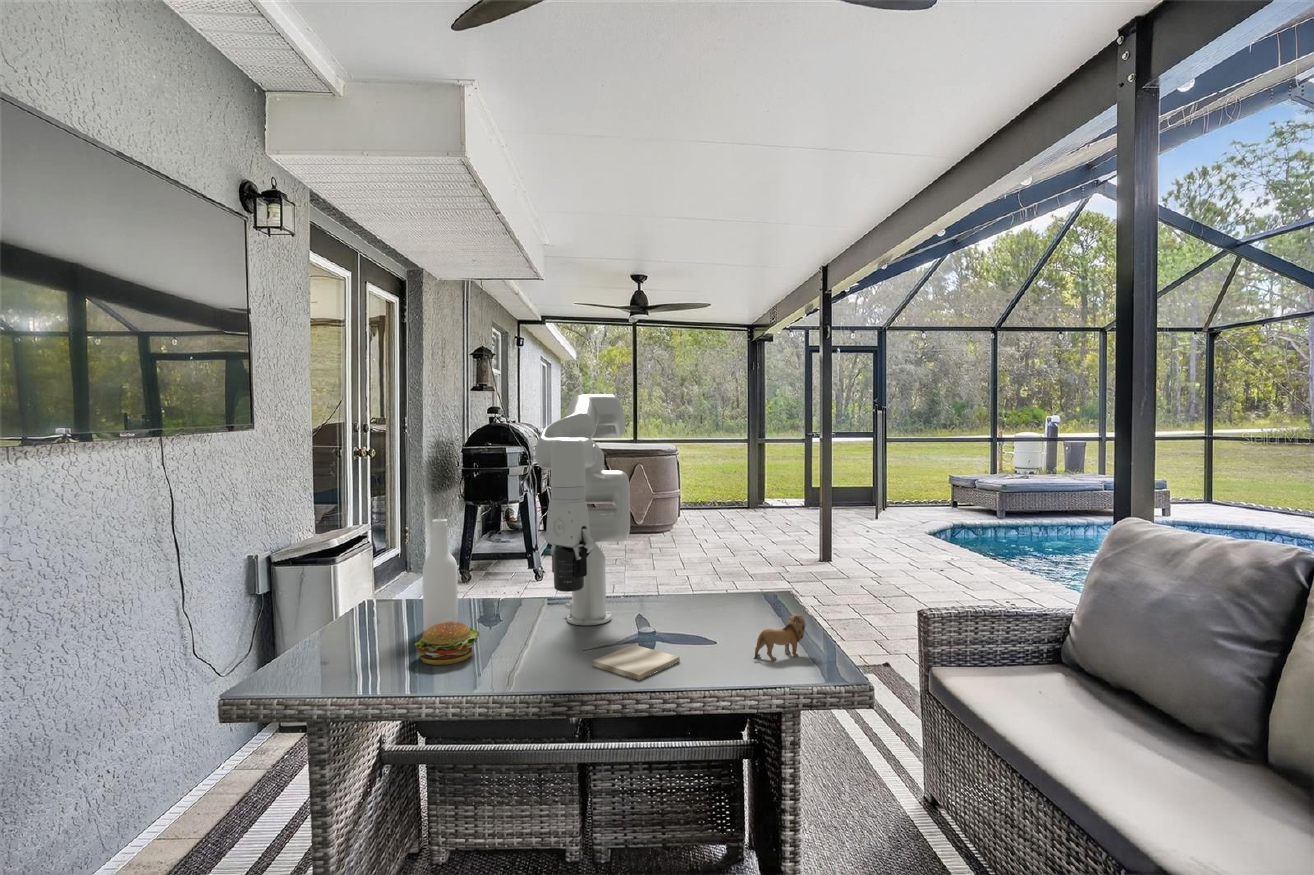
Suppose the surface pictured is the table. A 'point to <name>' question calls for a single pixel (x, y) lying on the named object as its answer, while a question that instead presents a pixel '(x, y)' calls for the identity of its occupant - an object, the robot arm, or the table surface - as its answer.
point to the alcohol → (439, 580)
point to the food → (446, 643)
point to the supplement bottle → (566, 570)
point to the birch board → (635, 661)
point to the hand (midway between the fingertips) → (569, 573)
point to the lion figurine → (782, 637)
